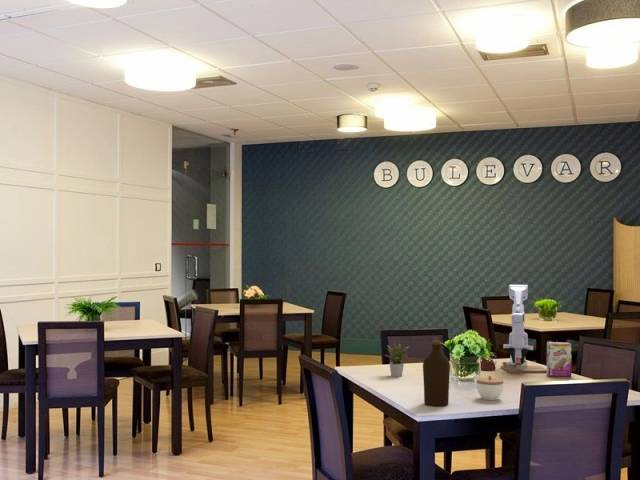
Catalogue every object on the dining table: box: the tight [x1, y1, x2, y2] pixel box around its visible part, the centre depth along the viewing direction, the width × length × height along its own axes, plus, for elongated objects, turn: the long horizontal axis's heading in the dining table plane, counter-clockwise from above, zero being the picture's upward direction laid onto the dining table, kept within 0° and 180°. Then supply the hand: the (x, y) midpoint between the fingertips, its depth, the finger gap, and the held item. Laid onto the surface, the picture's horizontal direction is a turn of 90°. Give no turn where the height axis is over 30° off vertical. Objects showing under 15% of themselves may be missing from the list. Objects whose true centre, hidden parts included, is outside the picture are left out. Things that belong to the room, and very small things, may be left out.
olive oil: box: [422, 339, 451, 407], centre depth 279 cm, size 11×11×25 cm
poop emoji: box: [480, 358, 497, 372], centre depth 367 cm, size 10×8×9 cm
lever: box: [515, 357, 528, 370], centre depth 363 cm, size 16×5×6 cm, turn 154°
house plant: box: [384, 342, 411, 378], centre depth 344 cm, size 14×14×16 cm
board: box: [500, 361, 547, 374], centre depth 364 cm, size 15×20×4 cm
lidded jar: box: [476, 375, 504, 401], centre depth 290 cm, size 11×11×9 cm
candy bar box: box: [546, 341, 573, 378], centre depth 348 cm, size 11×5×16 cm, turn 84°
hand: (518, 363), depth 357 cm, fingers open, 4 cm apart
